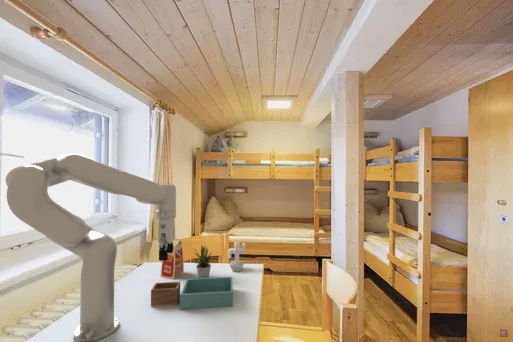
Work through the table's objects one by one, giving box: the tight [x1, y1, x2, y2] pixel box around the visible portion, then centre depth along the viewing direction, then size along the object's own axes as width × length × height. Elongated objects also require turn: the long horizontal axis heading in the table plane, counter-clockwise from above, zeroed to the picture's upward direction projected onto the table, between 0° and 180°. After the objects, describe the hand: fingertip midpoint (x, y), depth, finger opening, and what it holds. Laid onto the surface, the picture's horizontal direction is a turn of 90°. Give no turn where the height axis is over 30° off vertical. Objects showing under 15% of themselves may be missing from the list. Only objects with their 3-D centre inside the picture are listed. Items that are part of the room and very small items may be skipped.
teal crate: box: [179, 276, 234, 311], centre depth 104 cm, size 15×20×6 cm
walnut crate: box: [150, 281, 181, 307], centre depth 102 cm, size 7×10×6 cm, turn 97°
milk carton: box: [159, 237, 185, 280], centre depth 129 cm, size 9×9×20 cm
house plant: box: [190, 244, 214, 279], centre depth 126 cm, size 14×14×16 cm
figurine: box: [227, 241, 247, 272], centre depth 136 cm, size 7×9×15 cm
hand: (166, 256), depth 102 cm, fingers open, 9 cm apart
